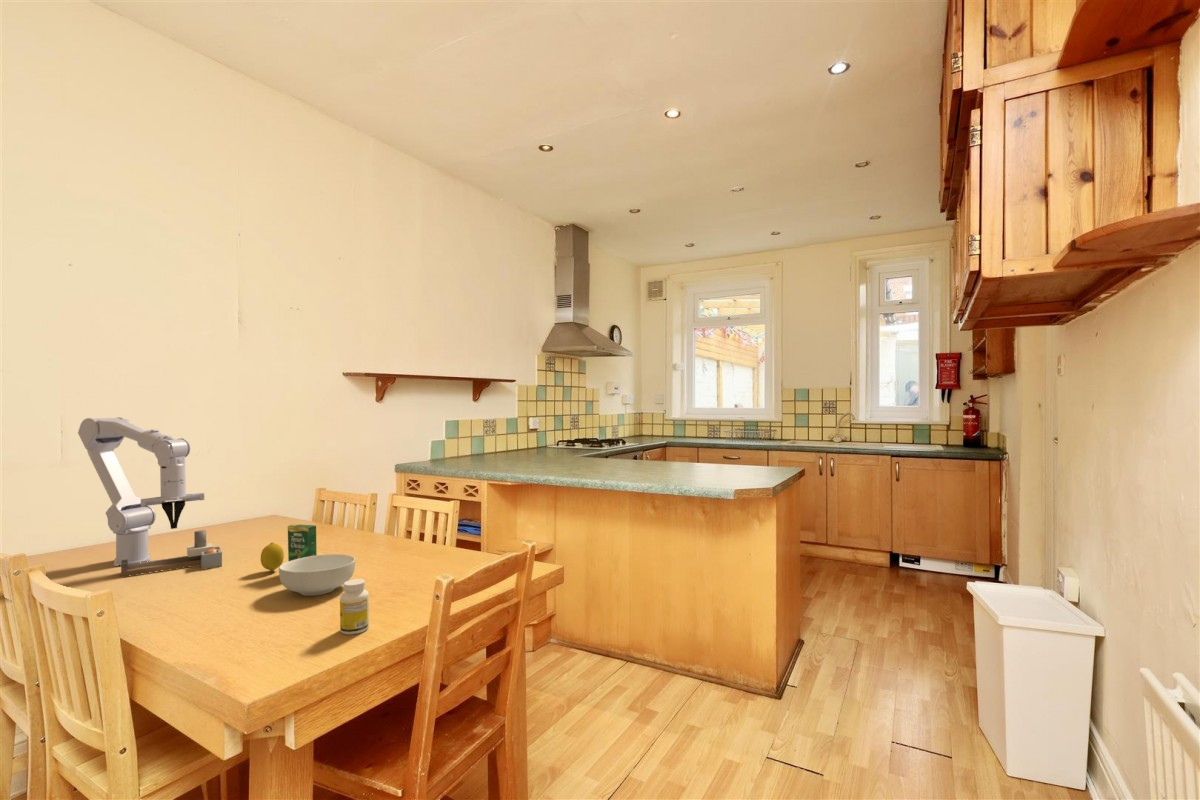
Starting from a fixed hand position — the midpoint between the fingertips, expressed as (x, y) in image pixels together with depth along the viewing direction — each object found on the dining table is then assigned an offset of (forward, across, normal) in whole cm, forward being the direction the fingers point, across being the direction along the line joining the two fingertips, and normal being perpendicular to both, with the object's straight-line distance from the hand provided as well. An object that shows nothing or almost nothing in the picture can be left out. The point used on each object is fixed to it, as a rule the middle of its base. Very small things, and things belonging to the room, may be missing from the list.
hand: (173, 528), depth 159 cm
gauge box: (+11, +8, -9) cm, 16 cm away
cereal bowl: (+12, +26, -51) cm, 59 cm away
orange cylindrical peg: (+10, +8, -9) cm, 16 cm away
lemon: (+11, +20, -26) cm, 35 cm away
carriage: (+8, +6, -3) cm, 10 cm away
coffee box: (+12, +26, -33) cm, 44 cm away
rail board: (+10, 0, -3) cm, 11 cm away
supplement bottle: (+12, +26, -82) cm, 87 cm away
